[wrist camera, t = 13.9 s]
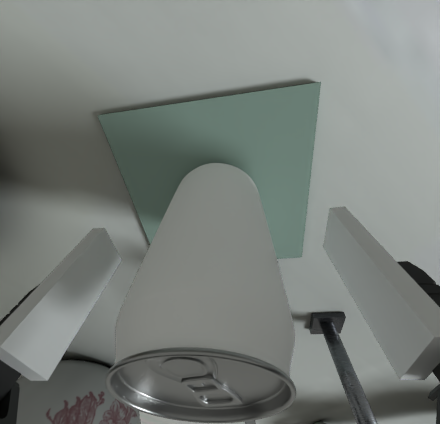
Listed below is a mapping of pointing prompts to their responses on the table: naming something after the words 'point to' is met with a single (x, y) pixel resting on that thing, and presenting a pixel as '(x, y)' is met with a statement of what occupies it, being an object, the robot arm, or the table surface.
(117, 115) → the mat
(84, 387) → the chamber pot
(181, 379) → the can
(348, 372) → the dark grey angled piece
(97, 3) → the table surface
